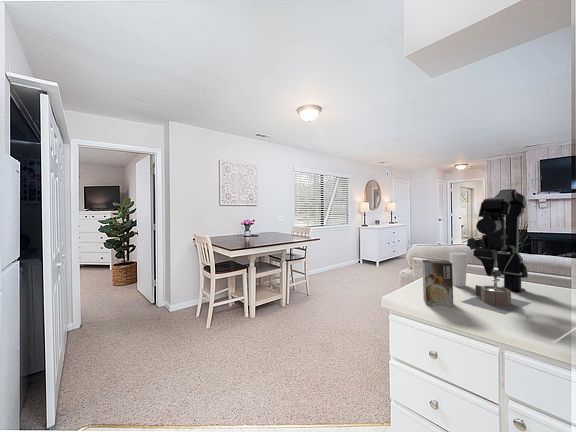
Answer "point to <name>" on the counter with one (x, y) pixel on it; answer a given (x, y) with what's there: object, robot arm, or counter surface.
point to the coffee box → (437, 283)
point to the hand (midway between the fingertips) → (495, 273)
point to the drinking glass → (459, 268)
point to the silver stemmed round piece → (495, 281)
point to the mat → (500, 309)
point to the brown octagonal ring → (494, 296)
